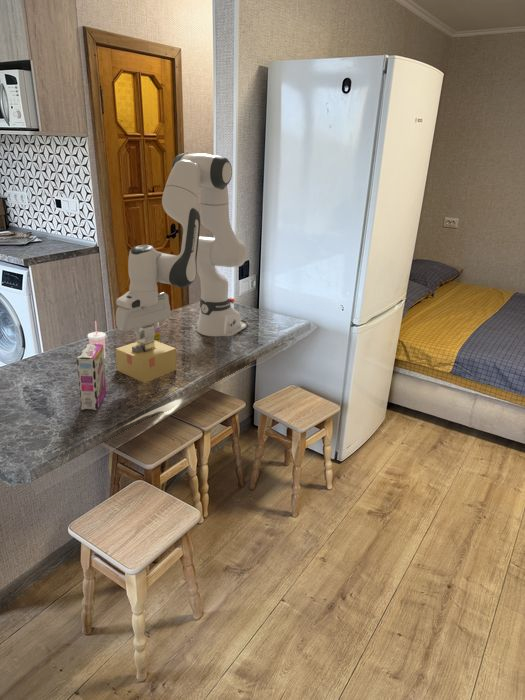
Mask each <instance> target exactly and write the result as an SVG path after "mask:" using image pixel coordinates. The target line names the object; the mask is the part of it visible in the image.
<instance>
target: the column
mask: <svg viewBox="0 0 525 700" xmlns="http://www.w3.org/2000/svg"><path fill="white" fill-rule="evenodd" d="M139 333H140V334H142V339H140V340H137V339H136V342H137V346H140V347H142V348H143V352H148V351H151V350H154V349H155V344H154V342H155V341H154V326H153V325H150V324H149V325H146V326H143V327H140V330H139Z"/></svg>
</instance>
